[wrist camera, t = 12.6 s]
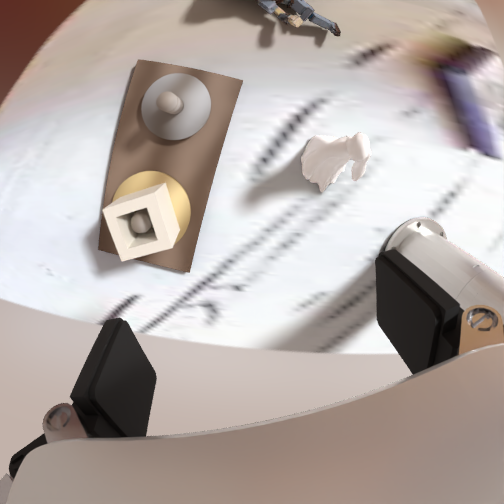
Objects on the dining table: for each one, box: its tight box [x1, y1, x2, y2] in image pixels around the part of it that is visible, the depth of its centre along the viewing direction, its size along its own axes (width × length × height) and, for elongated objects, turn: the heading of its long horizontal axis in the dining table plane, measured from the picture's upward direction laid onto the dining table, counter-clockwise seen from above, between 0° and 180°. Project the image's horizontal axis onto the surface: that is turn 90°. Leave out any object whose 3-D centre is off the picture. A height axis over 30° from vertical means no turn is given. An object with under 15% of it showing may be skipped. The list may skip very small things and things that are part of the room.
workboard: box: [98, 60, 243, 273], centre depth 31 cm, size 13×25×8 cm, turn 163°
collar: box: [103, 182, 180, 262], centre depth 32 cm, size 6×6×6 cm
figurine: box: [301, 132, 371, 192], centre depth 31 cm, size 8×8×12 cm
